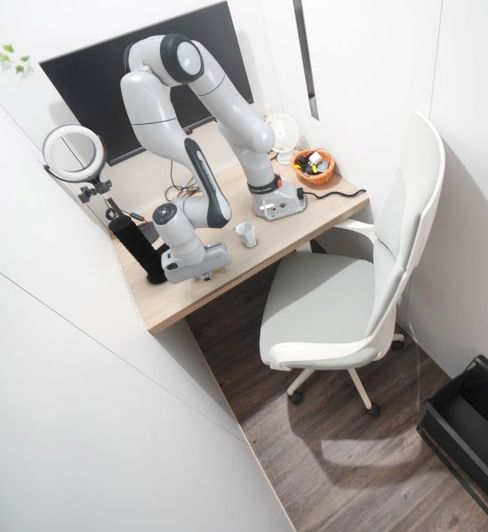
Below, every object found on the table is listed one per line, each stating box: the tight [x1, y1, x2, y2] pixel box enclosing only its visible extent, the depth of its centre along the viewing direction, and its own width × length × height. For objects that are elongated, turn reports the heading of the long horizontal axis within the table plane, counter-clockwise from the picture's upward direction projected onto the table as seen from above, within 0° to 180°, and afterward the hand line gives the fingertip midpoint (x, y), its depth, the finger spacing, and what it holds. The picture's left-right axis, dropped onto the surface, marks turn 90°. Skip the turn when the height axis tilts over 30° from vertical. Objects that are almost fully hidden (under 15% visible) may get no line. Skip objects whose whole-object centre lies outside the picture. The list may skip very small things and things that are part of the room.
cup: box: [232, 221, 257, 248], centre depth 121 cm, size 7×10×8 cm
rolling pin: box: [192, 265, 228, 281], centre depth 113 cm, size 5×14×5 cm, turn 113°
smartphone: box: [155, 242, 170, 258], centre depth 124 cm, size 7×1×15 cm
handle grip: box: [107, 214, 168, 285], centre depth 108 cm, size 10×26×10 cm
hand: (208, 279), depth 108 cm, fingers closed
